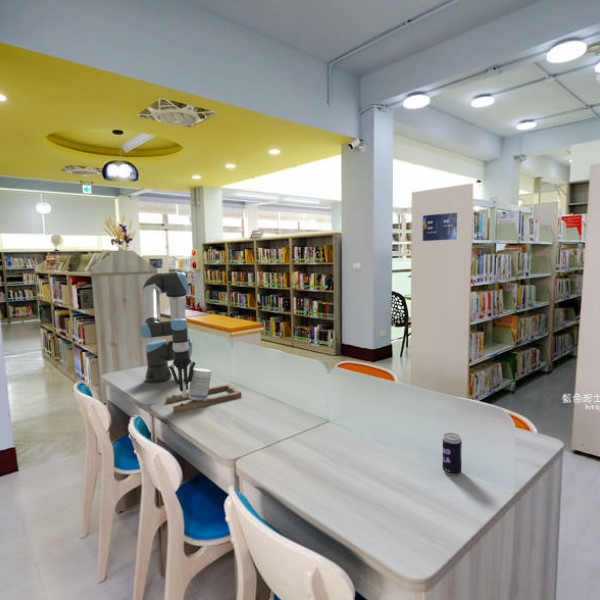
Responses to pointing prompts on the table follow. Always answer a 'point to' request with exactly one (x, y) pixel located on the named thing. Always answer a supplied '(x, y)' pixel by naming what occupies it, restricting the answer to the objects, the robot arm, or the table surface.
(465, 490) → the table surface
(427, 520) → the table surface
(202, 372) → the supplement tub
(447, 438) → the beverage can
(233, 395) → the beam track
